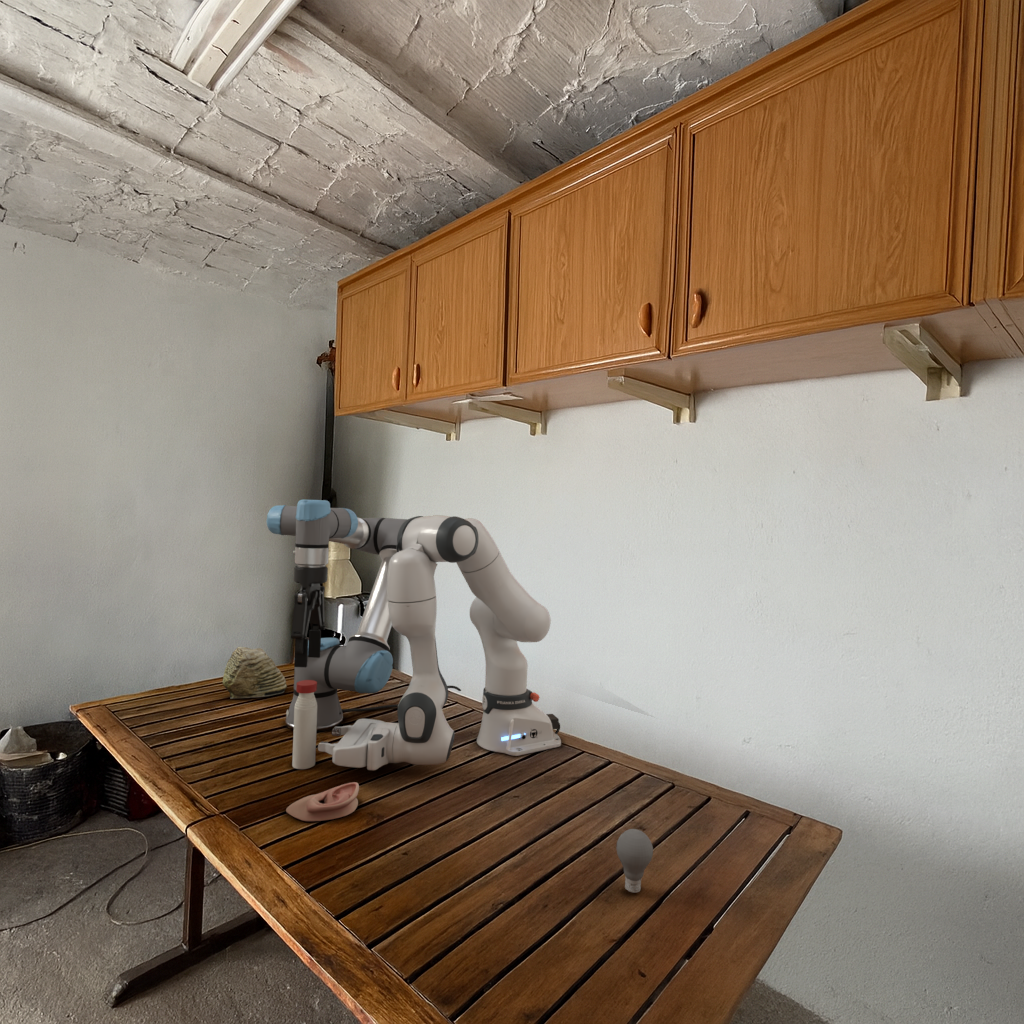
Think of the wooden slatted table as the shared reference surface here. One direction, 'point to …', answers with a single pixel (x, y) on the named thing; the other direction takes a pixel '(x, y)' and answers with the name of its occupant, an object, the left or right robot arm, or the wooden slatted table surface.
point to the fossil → (252, 674)
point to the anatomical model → (326, 804)
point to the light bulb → (634, 857)
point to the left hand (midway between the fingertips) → (307, 661)
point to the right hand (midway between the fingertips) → (326, 738)
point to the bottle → (304, 731)
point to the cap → (306, 686)
